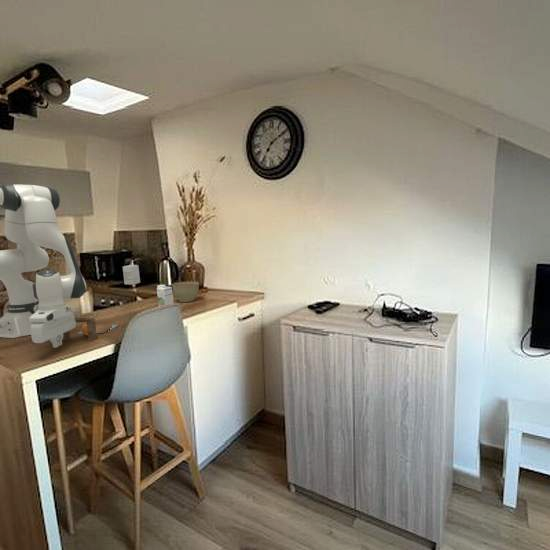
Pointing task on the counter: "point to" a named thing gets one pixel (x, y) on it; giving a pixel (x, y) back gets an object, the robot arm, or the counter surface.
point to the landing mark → (108, 330)
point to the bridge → (90, 328)
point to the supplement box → (131, 274)
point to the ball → (84, 329)
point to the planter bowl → (185, 291)
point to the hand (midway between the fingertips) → (57, 346)
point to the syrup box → (164, 296)
